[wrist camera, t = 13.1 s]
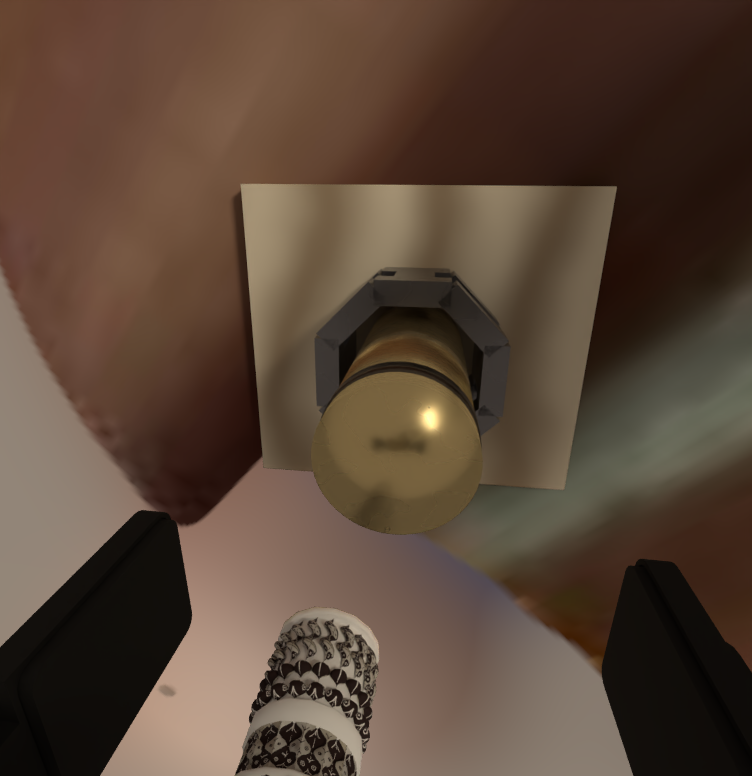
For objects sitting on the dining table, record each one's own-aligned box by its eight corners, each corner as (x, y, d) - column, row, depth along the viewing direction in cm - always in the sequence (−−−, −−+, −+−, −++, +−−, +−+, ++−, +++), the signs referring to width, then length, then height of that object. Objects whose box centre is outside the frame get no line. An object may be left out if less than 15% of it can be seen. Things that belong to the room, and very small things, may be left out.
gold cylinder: (466, 302, 27) (493, 385, 14) (459, 394, 29) (476, 542, 16) (367, 298, 28) (306, 375, 15) (367, 389, 30) (312, 528, 17)
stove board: (610, 187, 25) (617, 186, 24) (560, 481, 31) (564, 490, 31) (247, 184, 27) (240, 183, 26) (268, 460, 34) (263, 467, 33)
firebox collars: (502, 269, 26) (517, 283, 21) (486, 424, 30) (496, 468, 25) (335, 265, 27) (312, 277, 22) (338, 415, 31) (318, 455, 26)
